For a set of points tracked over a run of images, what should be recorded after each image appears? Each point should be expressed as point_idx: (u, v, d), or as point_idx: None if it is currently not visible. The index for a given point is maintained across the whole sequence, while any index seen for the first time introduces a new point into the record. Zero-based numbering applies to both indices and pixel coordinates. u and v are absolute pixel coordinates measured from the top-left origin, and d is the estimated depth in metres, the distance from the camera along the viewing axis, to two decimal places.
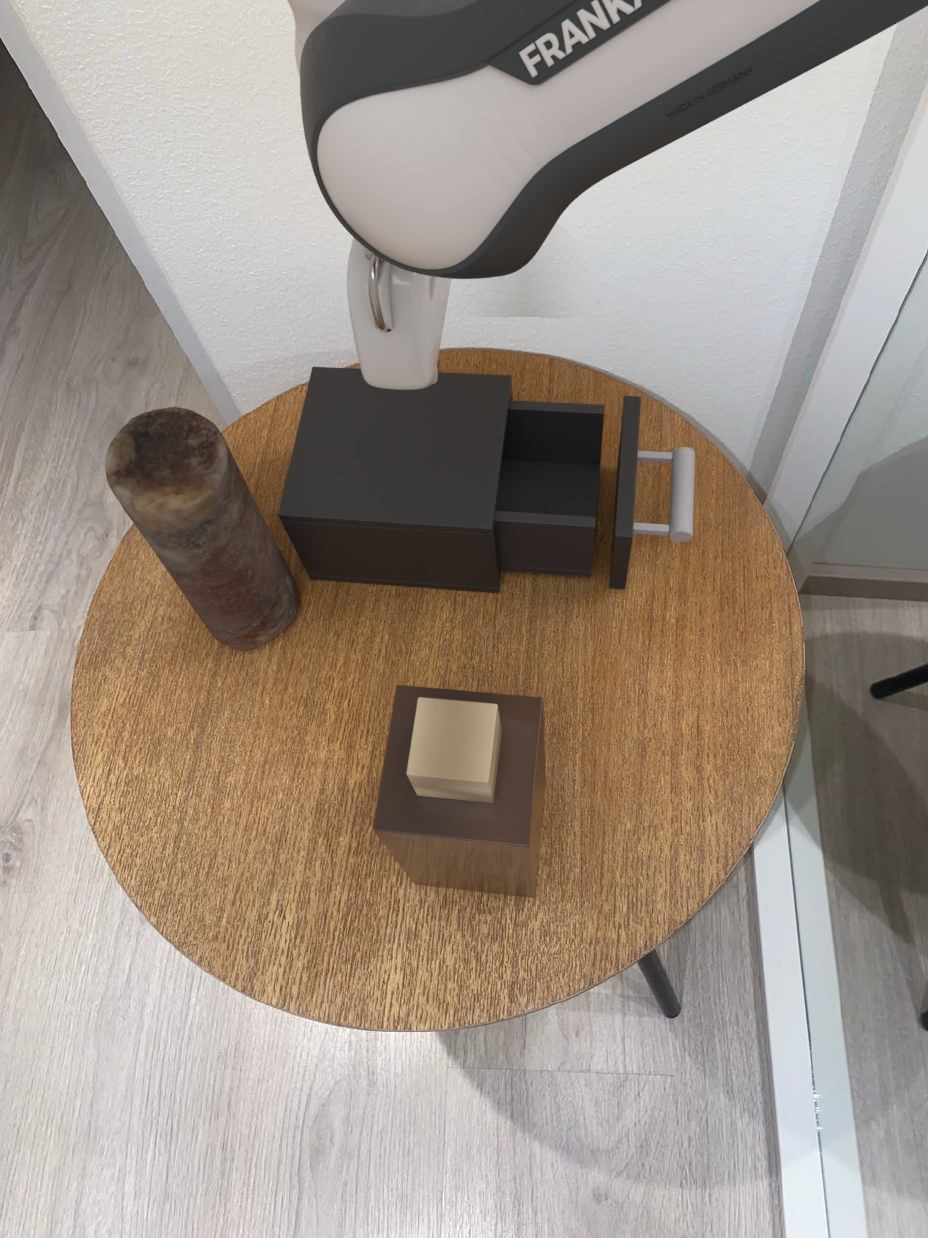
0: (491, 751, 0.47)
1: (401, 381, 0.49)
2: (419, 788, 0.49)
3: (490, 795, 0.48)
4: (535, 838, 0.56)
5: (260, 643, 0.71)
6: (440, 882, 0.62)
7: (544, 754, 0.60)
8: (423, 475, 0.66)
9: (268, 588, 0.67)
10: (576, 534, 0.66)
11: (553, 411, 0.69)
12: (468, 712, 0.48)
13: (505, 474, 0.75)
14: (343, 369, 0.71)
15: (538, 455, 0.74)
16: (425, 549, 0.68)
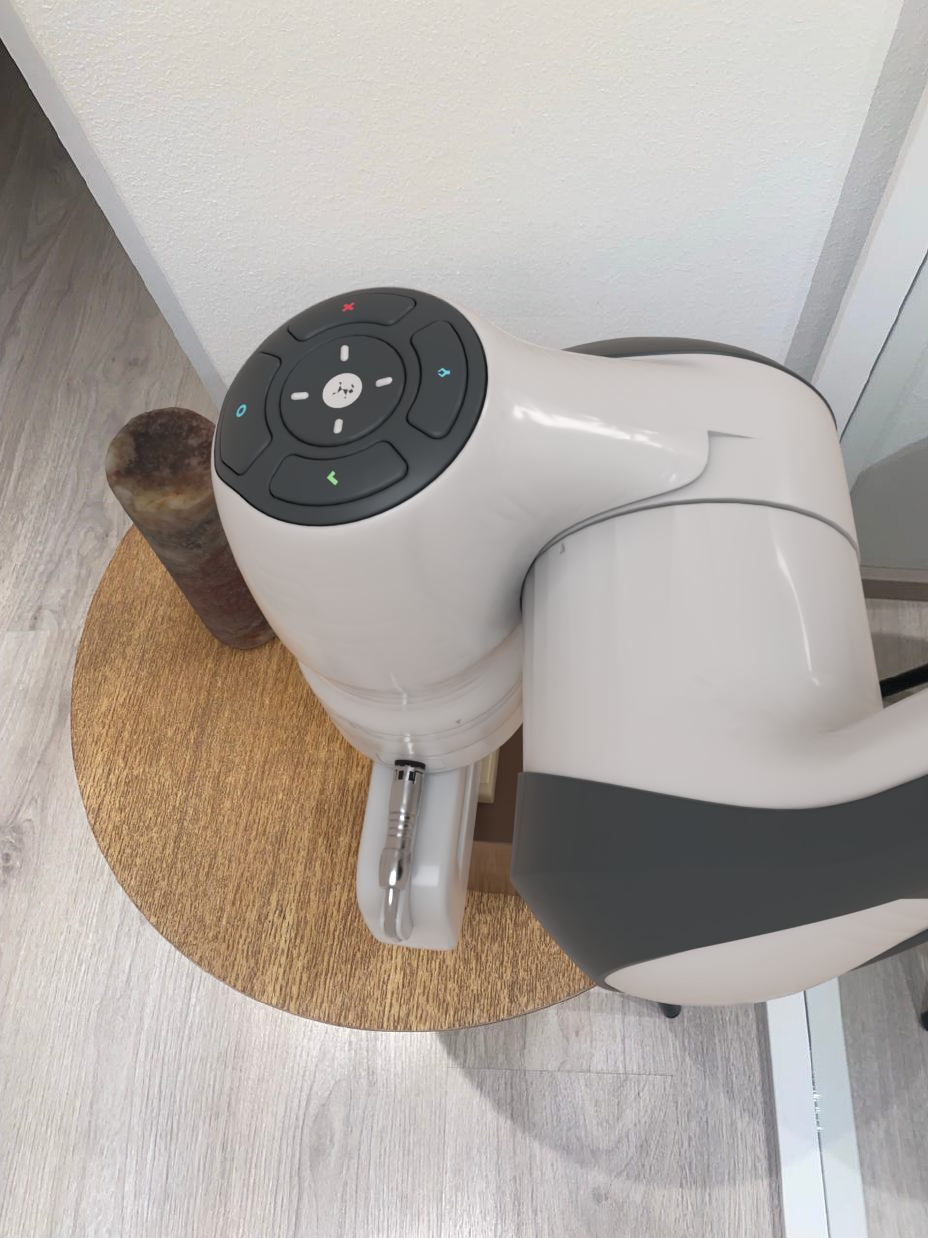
0: None
1: (421, 947, 0.40)
2: None
3: (490, 795, 0.48)
4: None
5: (260, 643, 0.71)
6: None
7: None
8: None
9: None
10: None
11: None
12: None
13: None
14: None
15: None
16: None
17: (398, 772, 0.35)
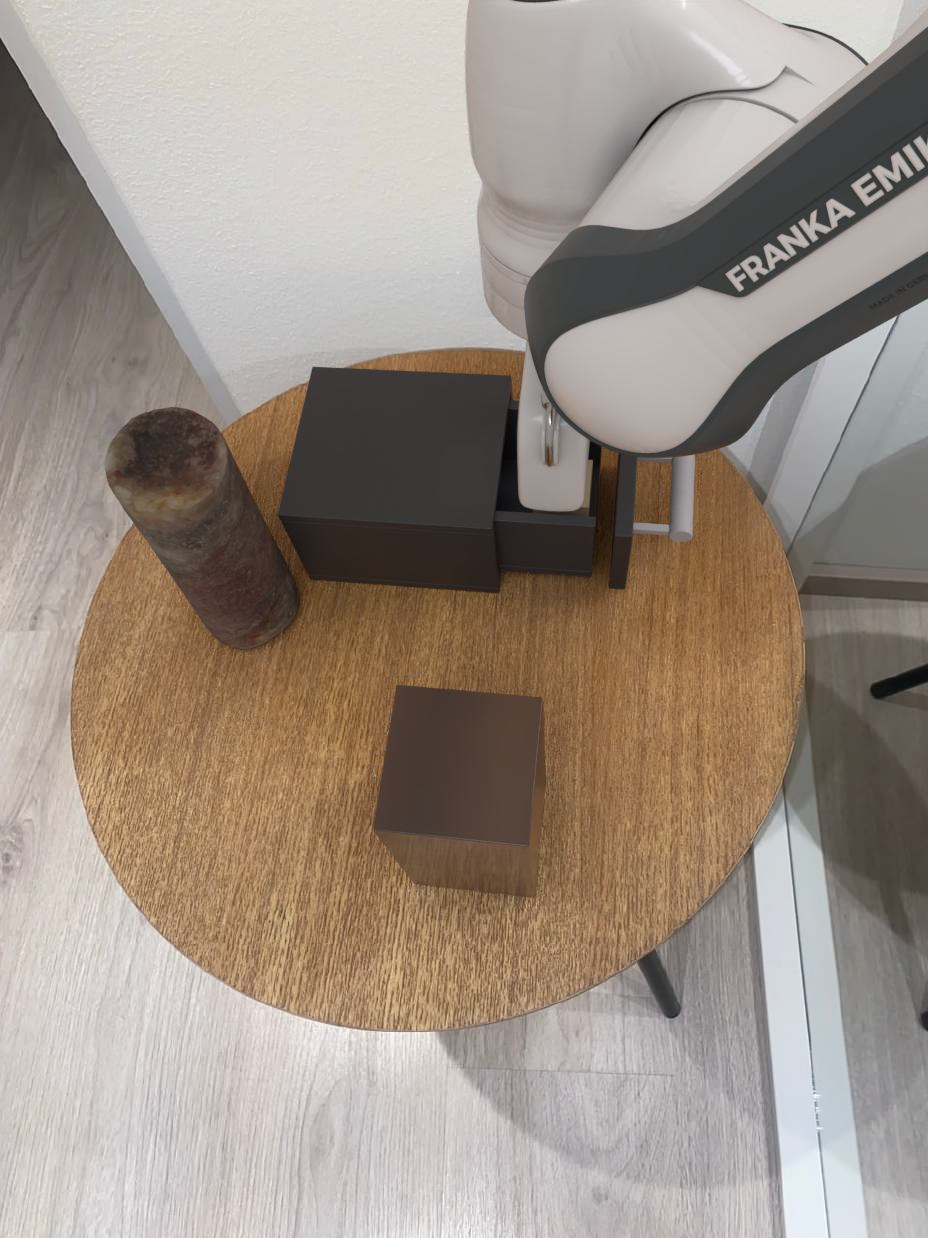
0: (590, 488, 0.69)
1: (556, 505, 0.53)
2: None
3: None
4: (535, 838, 0.56)
5: (260, 643, 0.71)
6: (440, 882, 0.62)
7: (544, 754, 0.60)
8: (423, 475, 0.66)
9: (268, 588, 0.67)
10: (576, 534, 0.66)
11: None
12: None
13: (505, 474, 0.75)
14: (343, 369, 0.71)
15: None
16: (425, 549, 0.68)
17: None
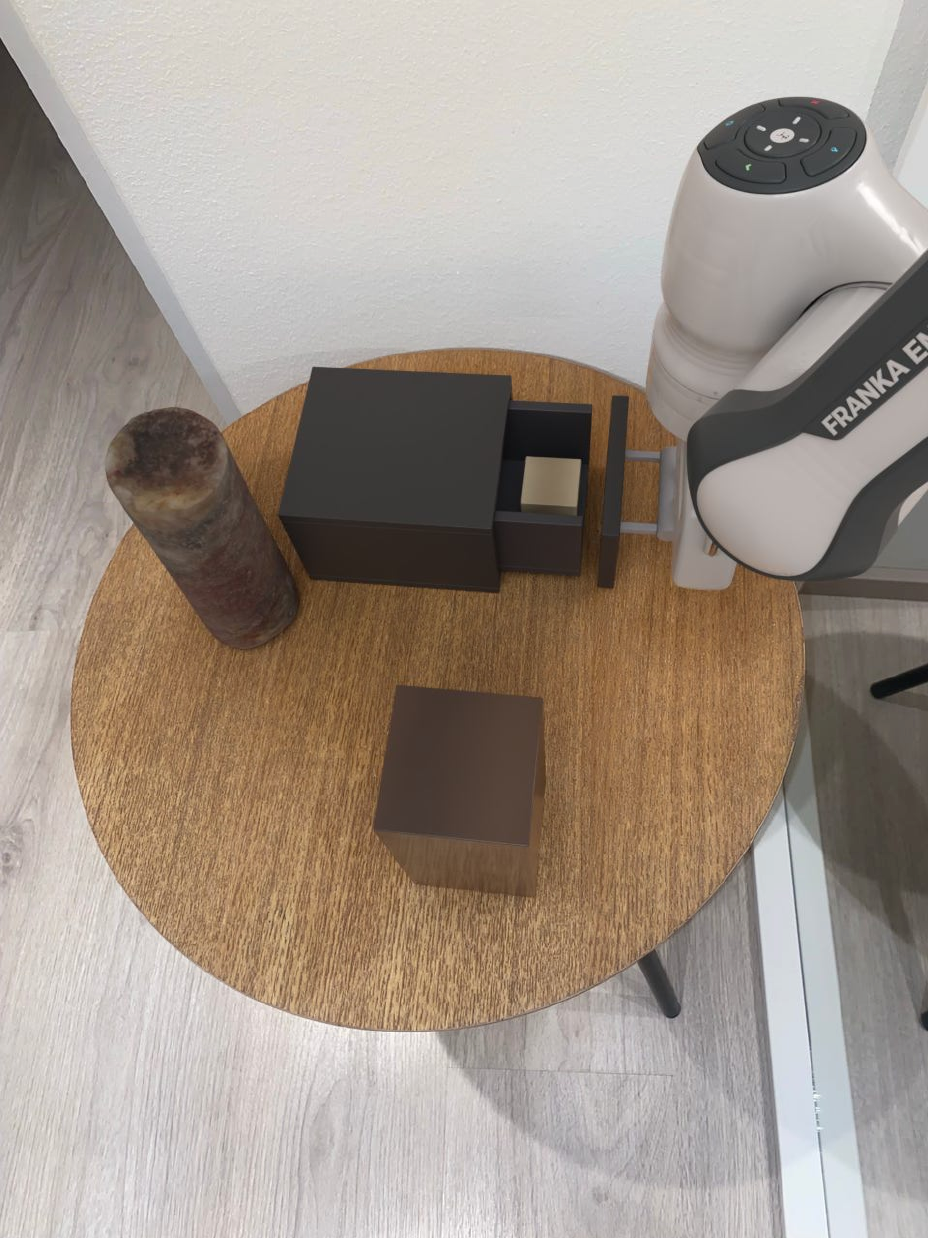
0: (578, 487, 0.69)
1: (707, 585, 0.59)
2: None
3: None
4: (535, 838, 0.56)
5: (260, 643, 0.71)
6: (440, 882, 0.62)
7: (544, 754, 0.60)
8: (423, 475, 0.66)
9: (268, 588, 0.67)
10: (564, 533, 0.66)
11: (541, 410, 0.69)
12: (561, 464, 0.70)
13: None
14: (343, 369, 0.71)
15: (527, 454, 0.74)
16: (425, 549, 0.68)
17: None
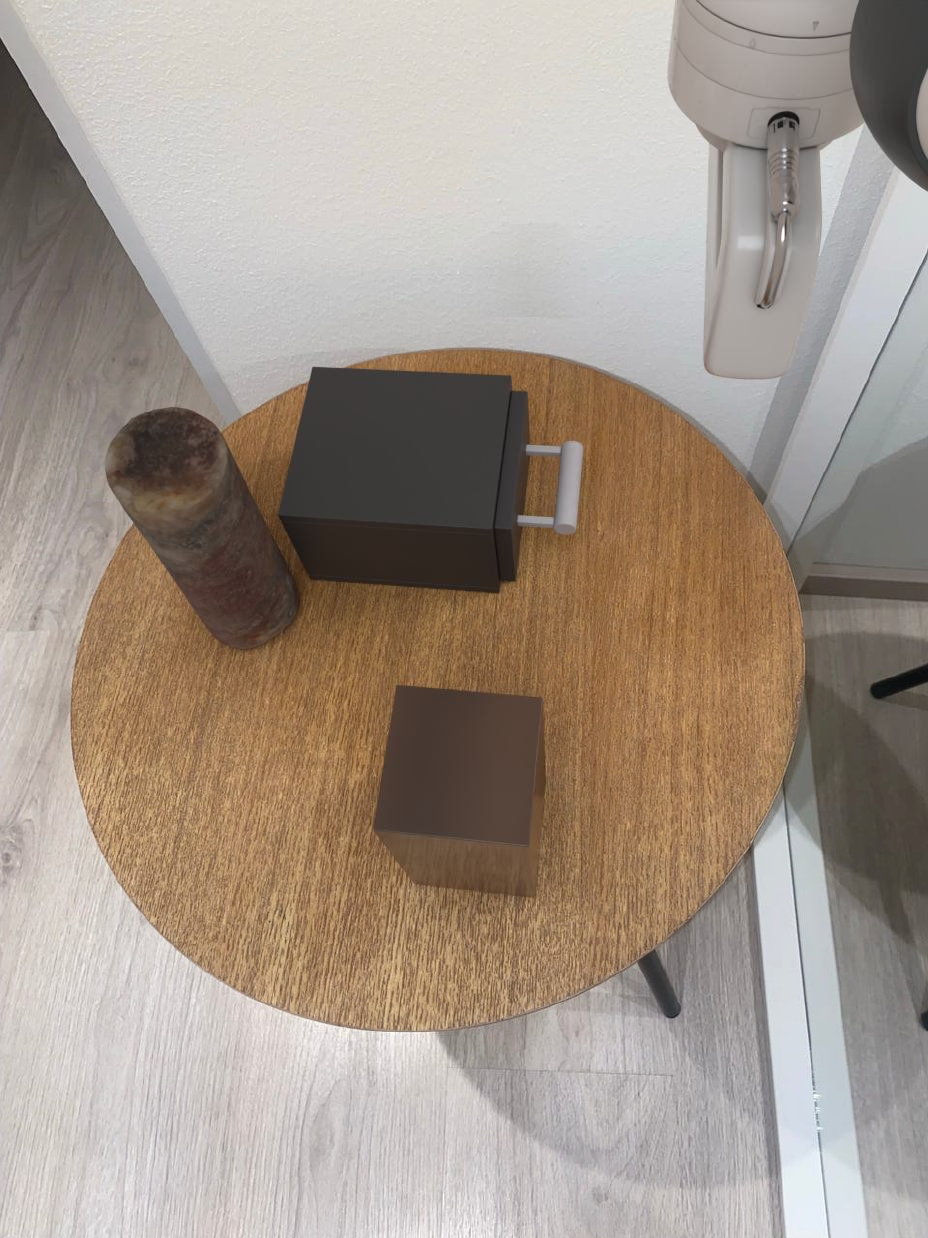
0: None
1: (756, 369, 0.41)
2: None
3: None
4: (535, 838, 0.56)
5: (260, 643, 0.71)
6: (440, 882, 0.62)
7: (544, 754, 0.60)
8: (423, 475, 0.66)
9: (268, 588, 0.67)
10: None
11: None
12: None
13: None
14: (343, 369, 0.71)
15: None
16: (425, 549, 0.68)
17: (777, 123, 0.36)
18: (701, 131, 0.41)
